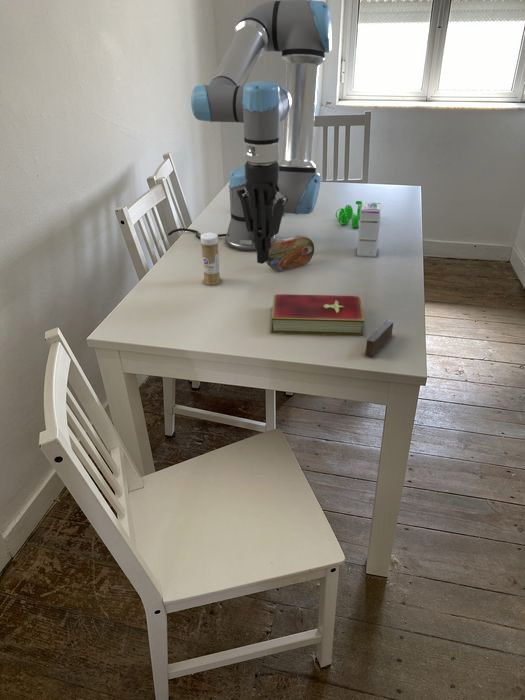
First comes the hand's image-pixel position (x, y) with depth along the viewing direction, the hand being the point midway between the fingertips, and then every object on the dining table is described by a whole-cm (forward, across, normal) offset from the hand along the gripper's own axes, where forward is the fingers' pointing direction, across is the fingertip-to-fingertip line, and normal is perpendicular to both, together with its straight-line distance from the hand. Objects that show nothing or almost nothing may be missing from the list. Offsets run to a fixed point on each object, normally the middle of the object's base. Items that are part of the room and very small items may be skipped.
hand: (262, 261), depth 128 cm
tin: (+11, -6, +21) cm, 25 cm away
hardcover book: (+12, +16, 0) cm, 20 cm away
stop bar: (+12, +33, -2) cm, 35 cm away
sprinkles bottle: (+11, -18, +1) cm, 21 cm away
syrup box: (+11, +8, +42) cm, 45 cm away
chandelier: (+11, -6, +63) cm, 65 cm away
